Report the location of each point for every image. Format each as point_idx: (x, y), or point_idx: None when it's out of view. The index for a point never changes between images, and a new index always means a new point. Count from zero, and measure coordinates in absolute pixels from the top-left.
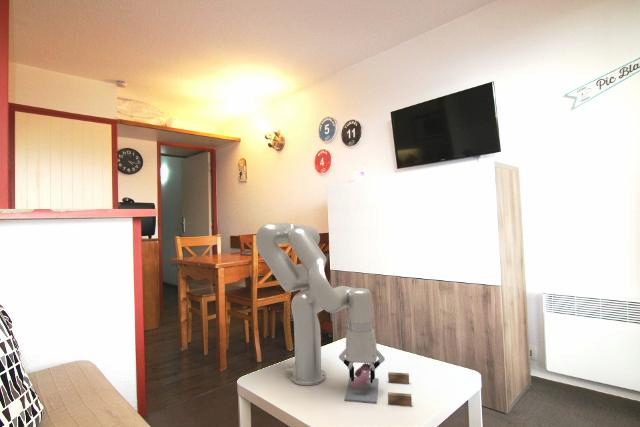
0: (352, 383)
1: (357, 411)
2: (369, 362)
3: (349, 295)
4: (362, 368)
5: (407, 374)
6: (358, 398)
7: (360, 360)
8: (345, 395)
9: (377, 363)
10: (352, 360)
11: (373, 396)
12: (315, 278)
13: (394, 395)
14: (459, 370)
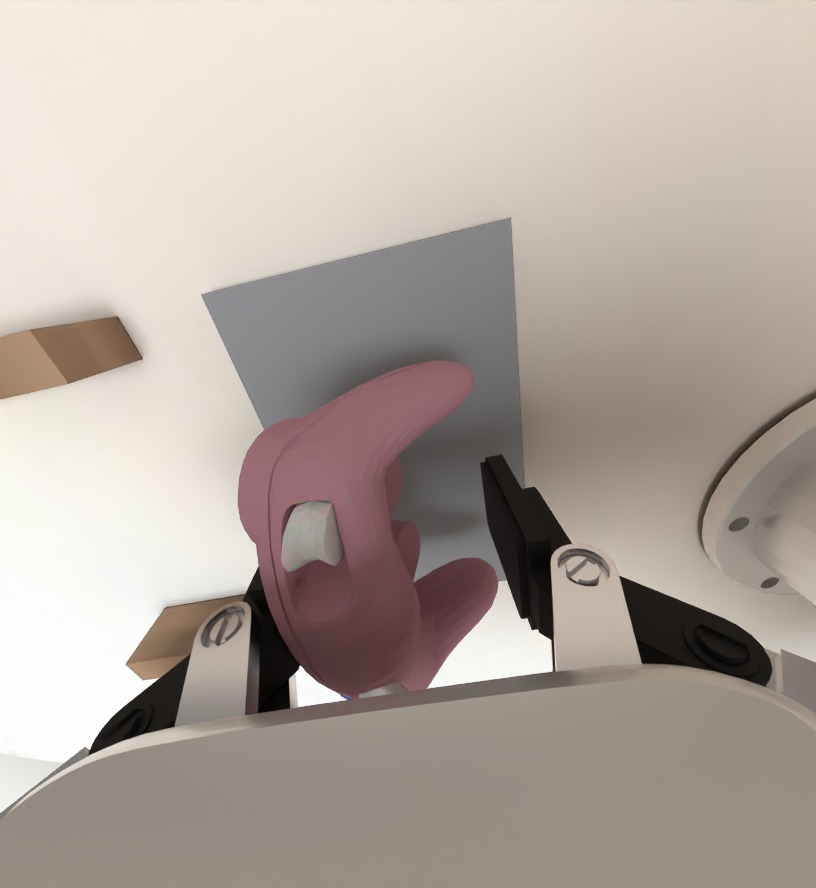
0: (472, 382)
1: (308, 21)
2: (152, 747)
3: None
4: (377, 596)
5: (141, 669)
6: (378, 288)
7: (370, 774)
8: (513, 299)
9: (115, 741)
10: (622, 723)
11: (269, 376)
12: None
13: None
14: (47, 749)
